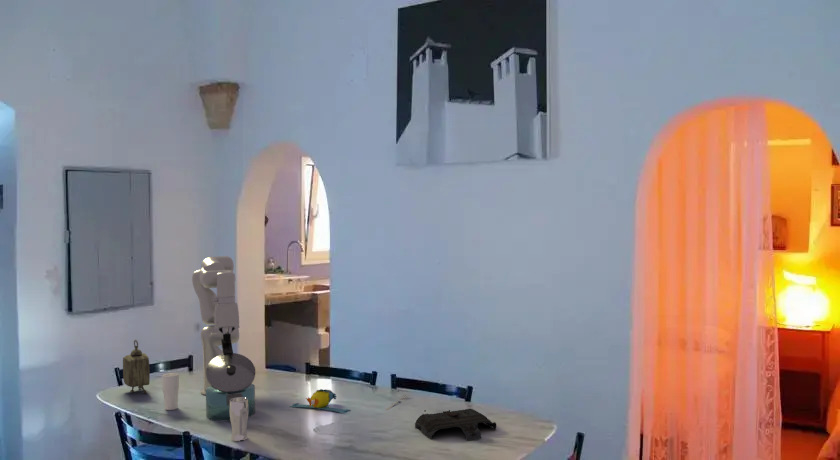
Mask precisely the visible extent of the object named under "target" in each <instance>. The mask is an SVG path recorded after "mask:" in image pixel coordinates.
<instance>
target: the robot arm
mask: <svg viewBox="0 0 840 460" xmlns="http://www.w3.org/2000/svg"><path fill="white" fill-rule="evenodd" d="M191 282H192V286H193V290H194V292H195V294H196V295H197V299H198V301H199V310H200V315H201V321H202V323H203V324H204V325H206V326H205V327H203V328H202V329H201V331H200V339H201V346H202V356H203V357H202V361H203V362H202V363H203V364H202V365H203V366H202V367H203V369H202V370H203V388H201V390H200V394H201V395H204V396H206V388H208V387H209V386H211V385H210V384H209V383H208V381H207V378H206V369H207V366H208V364H209V363H210V361H211V360H212V359H214V358H215V357H217V356H219V355H222V354H223V351H222V348H220V347H219V346H222V345H221V339H223V341H225V343H229V341H231V343H232V345H234V344H236V343H238V342H239V340H240V315H239V314H240V312H239V305H238V303H237V302H236V274H235V272H234V261H233V258H232V257H230V256H228V255H225V256H224V255H223V256H209V257H206V258H204V259H203V260H202V262H201V269H197V270H195V271H194V272H193V273H192V276H191ZM211 288H212V289H214V288H216V293H215V292H214V291H213V290H212V289H211ZM207 325H208V326H207Z"/></svg>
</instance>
